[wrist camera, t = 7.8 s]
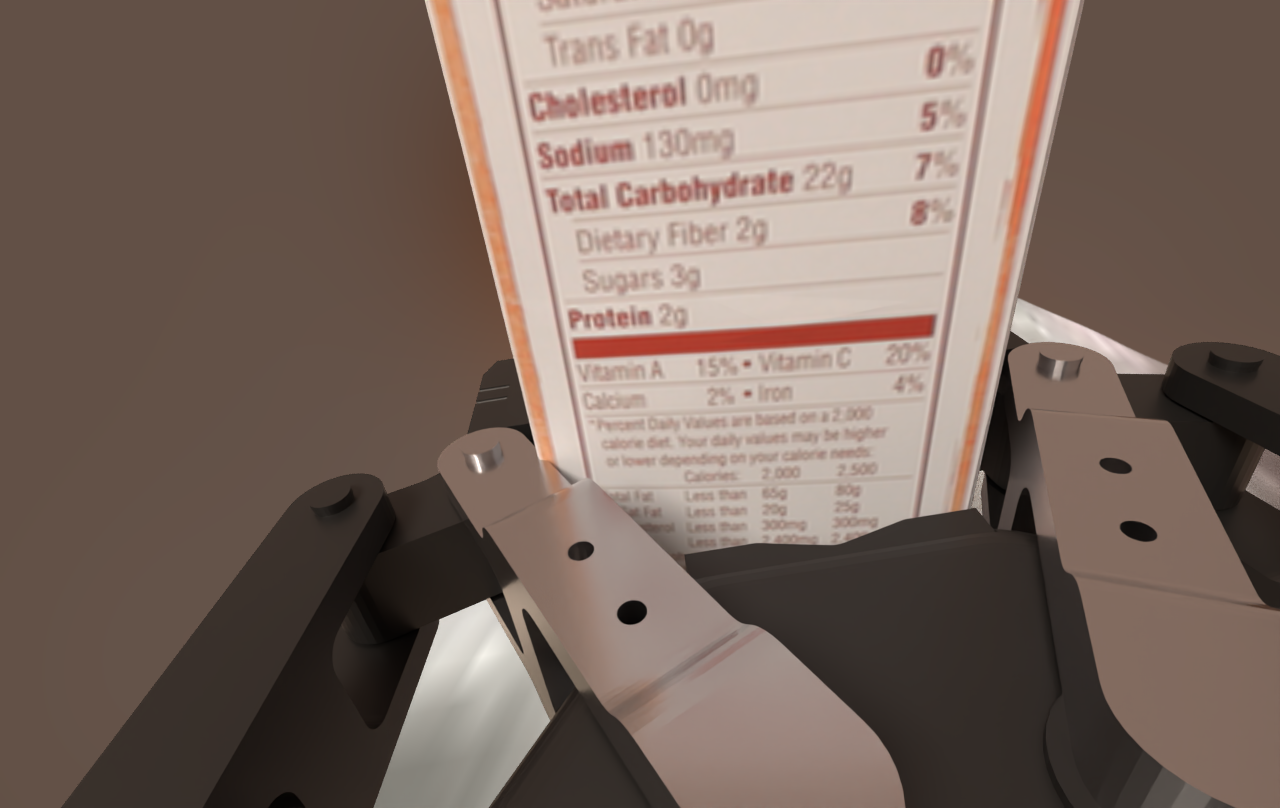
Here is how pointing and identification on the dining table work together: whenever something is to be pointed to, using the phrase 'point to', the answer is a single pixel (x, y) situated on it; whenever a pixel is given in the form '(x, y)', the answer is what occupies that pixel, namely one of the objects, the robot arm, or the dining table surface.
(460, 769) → the dining table surface
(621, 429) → the cracker box
